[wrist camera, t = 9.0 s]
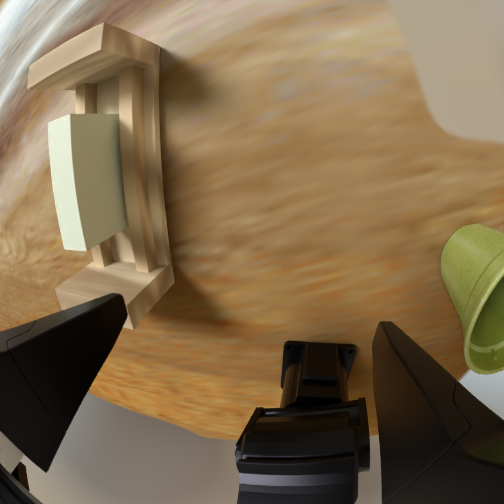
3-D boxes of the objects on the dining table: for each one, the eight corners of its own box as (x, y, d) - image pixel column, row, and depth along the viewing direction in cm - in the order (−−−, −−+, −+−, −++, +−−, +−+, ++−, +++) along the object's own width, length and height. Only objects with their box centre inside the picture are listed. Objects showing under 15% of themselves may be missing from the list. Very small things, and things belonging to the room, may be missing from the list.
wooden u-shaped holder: (174, 282, 24) (133, 329, 17) (106, 273, 25) (61, 309, 19) (160, 46, 16) (103, 22, 10) (87, 71, 17) (29, 66, 11)
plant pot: (519, 241, 15) (576, 286, 8) (463, 321, 19) (499, 386, 12) (463, 178, 15) (536, 208, 7) (400, 277, 19) (436, 352, 12)
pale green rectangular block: (134, 223, 21) (86, 251, 16) (105, 223, 22) (58, 248, 16) (125, 114, 18) (70, 114, 12) (95, 121, 18) (42, 125, 13)
